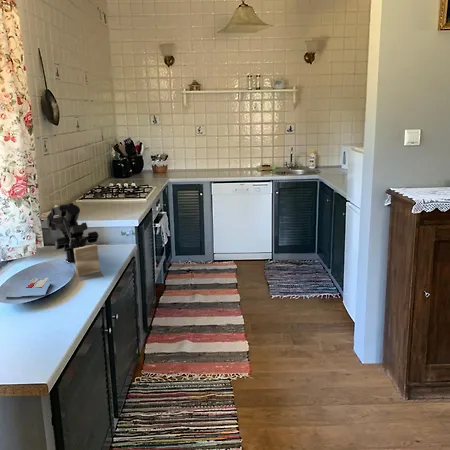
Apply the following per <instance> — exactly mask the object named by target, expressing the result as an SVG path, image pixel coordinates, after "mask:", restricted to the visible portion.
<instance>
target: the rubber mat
mask: <svg viewBox="0 0 450 450" xmlns="http://www.w3.org/2000/svg"><path fill="white" fill-rule="evenodd" d="M75 275H76V277H77V279H78V281H79V282H83V281H88V280H92V279H97V278H103V277H105V276H104V274H103V273H102V270H100V271H99V272H95V273H91V274H86V275H82V276H78V275H77V272H76V273H75Z"/></svg>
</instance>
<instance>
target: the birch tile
mask: <svg viewBox="0 0 450 450" xmlns="http://www.w3.org/2000/svg"><path fill="white" fill-rule="evenodd" d="M74 256H75V262H74V263H75V269H76V272H77V275H78V276H82V275H86V274H91V273H95V272H99V271H101V269H100V259H99V250H98V245H97V244H90V245H85V246H84V247H79V248H74Z"/></svg>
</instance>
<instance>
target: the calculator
mask: <svg viewBox="0 0 450 450" xmlns="http://www.w3.org/2000/svg"><path fill="white" fill-rule="evenodd" d="M44 278H45V279H44V280H40V281H38V282H37V280H38V279H40V278H39V277H38V278H31V279H32V280H30V282H31V281H32V282H31V284H30V285H28V287H26V288H32V287H33V286H34V284H35V283H36V282H37V284H36V286H34V287H33V288H42V287H43V286H44V284H45V283H46V282H47V280H48V279H49V278H50V277H44ZM33 279H35V280H33Z"/></svg>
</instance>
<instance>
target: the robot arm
mask: <svg viewBox="0 0 450 450" xmlns="http://www.w3.org/2000/svg"><path fill="white" fill-rule="evenodd" d="M80 212H81V209H80V207H79V206H78V205H76V204H74V203H73V202H71V203H65V204H59V205H57V206H56V207H51V208H50V212H49V213H48V215H47V216H46V226H47V228H49V230H51V231H53V232H54V231H56V232H57V233H58V235H59V236H60V237H58V238H56V239H55V243H54V246H55V250H57V251H59V250H62V251H63V252H65V255H66V258H65V261H68V262H70V263H69V264H71V263H75V256H74V248H79V247H84V246H87V243H89V244H92V243H96V242H98V239H99V233H98V232H97V231H90V232H88V234H87V235H85V234H84V232H85V231H87V230H88V229H89V228H88V225H87V222H86V221H85V222H81V224H79V222H78V220H79V216H80ZM83 235H85V236H83Z"/></svg>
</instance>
